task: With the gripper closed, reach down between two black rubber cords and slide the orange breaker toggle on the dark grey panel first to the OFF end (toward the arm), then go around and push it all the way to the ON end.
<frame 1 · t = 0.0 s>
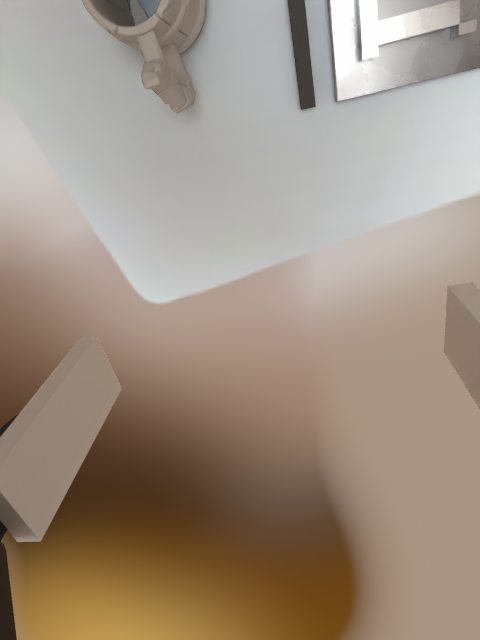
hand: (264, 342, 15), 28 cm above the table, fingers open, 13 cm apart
mug: (173, 32, 33), on the table
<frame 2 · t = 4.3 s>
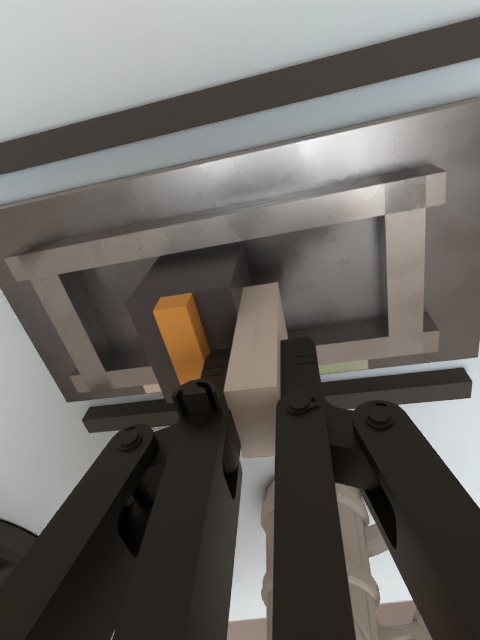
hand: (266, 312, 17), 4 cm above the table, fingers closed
breaker panel: (230, 277, 20), on the table
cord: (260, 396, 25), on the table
breaker toggle: (203, 324, 17), point 5 cm above the table, slide at 4.3 cm, touching gripper
mug: (338, 492, 29), on the table
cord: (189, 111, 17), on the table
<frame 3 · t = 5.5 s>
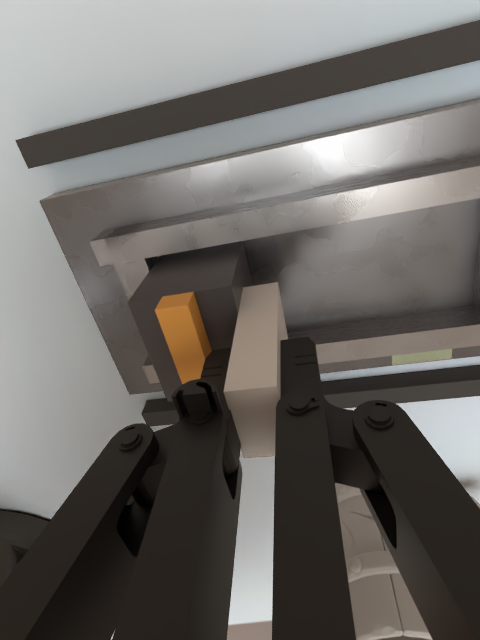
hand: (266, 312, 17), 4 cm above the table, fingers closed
breaker panel: (311, 264, 20), on the table
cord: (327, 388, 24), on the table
breaker toggle: (204, 323, 17), point 5 cm above the table, slide at 0.0 cm, touching gripper
mug: (396, 488, 29), on the table
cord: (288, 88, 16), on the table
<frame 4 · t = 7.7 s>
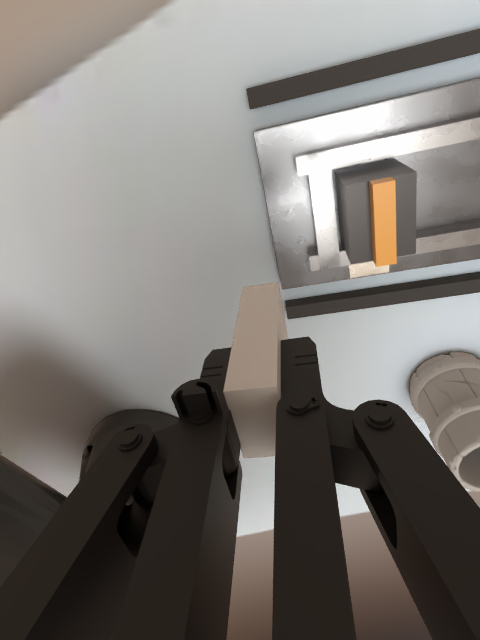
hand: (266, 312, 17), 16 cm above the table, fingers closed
breaker panel: (432, 182, 28), on the table
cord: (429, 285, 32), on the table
breaker toggle: (374, 212, 25), point 5 cm above the table, slide at 0.0 cm
mug: (469, 376, 37), on the table
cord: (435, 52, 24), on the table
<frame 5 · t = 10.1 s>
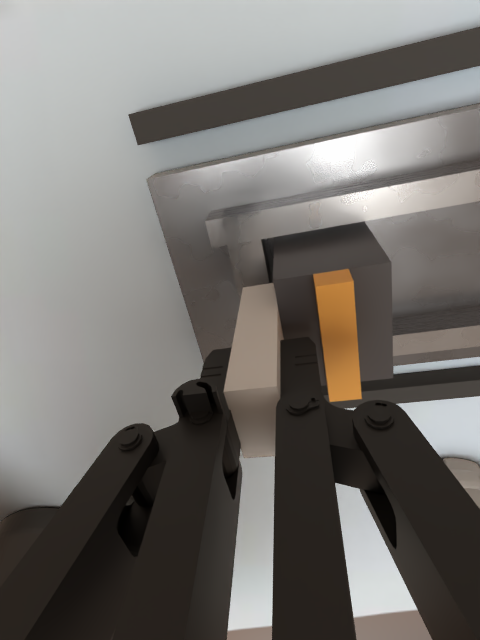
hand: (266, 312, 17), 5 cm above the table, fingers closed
breaker panel: (417, 248, 19), on the table
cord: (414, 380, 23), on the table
breaker toggle: (330, 306, 16), point 5 cm above the table, slide at 0.2 cm, touching gripper
mug: (469, 484, 28), on the table
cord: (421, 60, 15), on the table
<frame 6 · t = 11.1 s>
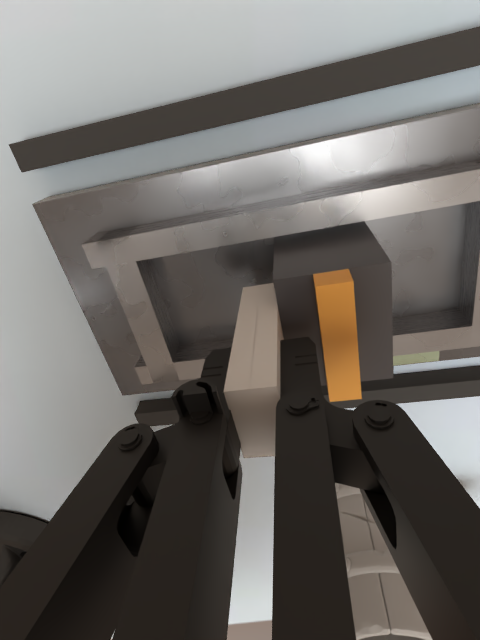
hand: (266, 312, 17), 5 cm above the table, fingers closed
breaker panel: (301, 267, 20), on the table
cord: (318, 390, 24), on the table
breaker toggle: (330, 306, 16), point 5 cm above the table, slide at 6.0 cm, touching gripper
mug: (387, 488, 29), on the table
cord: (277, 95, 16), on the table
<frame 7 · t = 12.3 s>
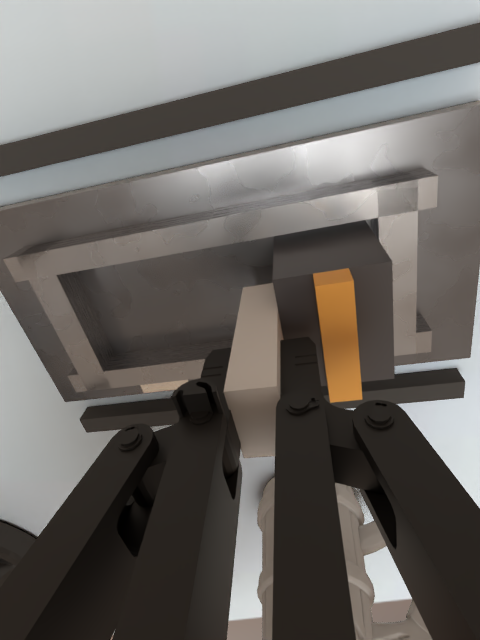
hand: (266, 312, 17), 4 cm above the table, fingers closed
breaker panel: (227, 278, 21), on the table
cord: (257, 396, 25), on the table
breaker toggle: (330, 306, 16), point 5 cm above the table, slide at 10.0 cm, touching gripper
mug: (334, 491, 29), on the table
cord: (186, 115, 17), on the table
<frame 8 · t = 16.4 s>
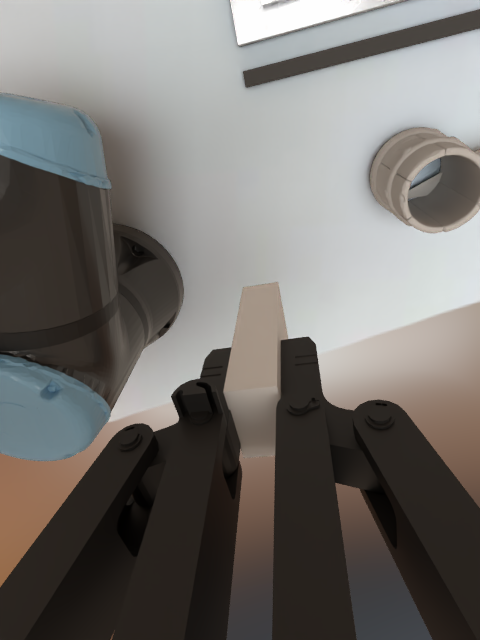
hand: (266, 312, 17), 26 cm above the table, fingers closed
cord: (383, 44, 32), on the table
mug: (429, 163, 37), on the table
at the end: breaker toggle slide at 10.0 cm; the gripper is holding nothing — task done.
